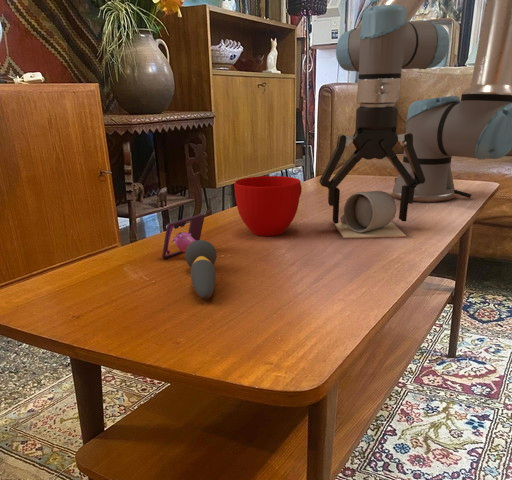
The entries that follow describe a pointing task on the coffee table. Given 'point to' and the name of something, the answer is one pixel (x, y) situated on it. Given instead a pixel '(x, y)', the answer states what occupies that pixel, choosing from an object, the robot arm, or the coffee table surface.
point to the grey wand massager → (202, 267)
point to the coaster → (384, 231)
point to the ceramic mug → (368, 211)
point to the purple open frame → (183, 234)
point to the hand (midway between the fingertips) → (368, 221)
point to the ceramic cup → (267, 203)
